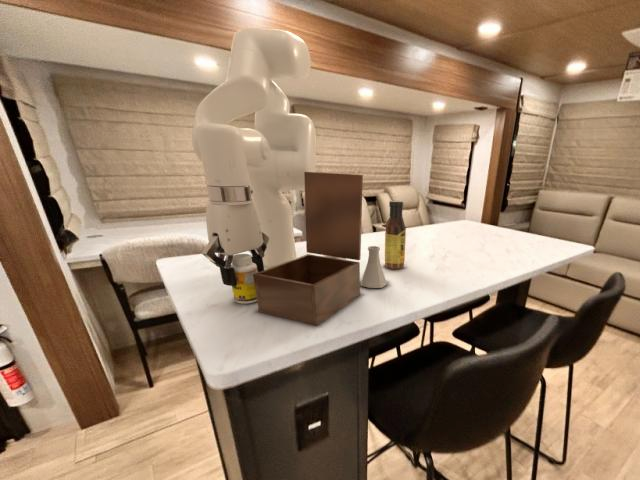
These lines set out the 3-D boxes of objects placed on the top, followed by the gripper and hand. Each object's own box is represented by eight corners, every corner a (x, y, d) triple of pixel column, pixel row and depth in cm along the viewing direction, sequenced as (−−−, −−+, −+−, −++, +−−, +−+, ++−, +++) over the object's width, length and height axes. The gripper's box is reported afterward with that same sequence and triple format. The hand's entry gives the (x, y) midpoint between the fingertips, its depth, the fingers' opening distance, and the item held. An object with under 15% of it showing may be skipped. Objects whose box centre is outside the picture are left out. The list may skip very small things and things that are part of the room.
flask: (383, 290, 79) (384, 252, 75) (356, 287, 80) (355, 249, 76) (389, 281, 85) (390, 245, 81) (364, 278, 86) (364, 243, 82)
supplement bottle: (230, 299, 70) (221, 255, 66) (254, 293, 74) (247, 251, 70) (241, 306, 67) (233, 261, 63) (266, 299, 71) (259, 256, 66)
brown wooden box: (317, 325, 60) (314, 286, 57) (258, 311, 65) (252, 274, 62) (360, 294, 75) (359, 262, 72) (310, 285, 80) (307, 254, 77)
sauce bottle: (404, 270, 94) (407, 202, 87) (383, 269, 94) (385, 201, 86) (404, 264, 100) (407, 200, 93) (385, 263, 100) (386, 199, 93)
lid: (361, 174, 66) (370, 176, 70) (304, 171, 70) (316, 173, 74) (358, 260, 71) (367, 257, 76) (306, 252, 76) (317, 249, 80)
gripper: (250, 191, 70) (261, 266, 77) (174, 197, 55) (196, 289, 62) (276, 193, 68) (285, 271, 75) (204, 200, 53) (224, 295, 60)
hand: (245, 278), depth 68 cm, fingers open, 7 cm apart
